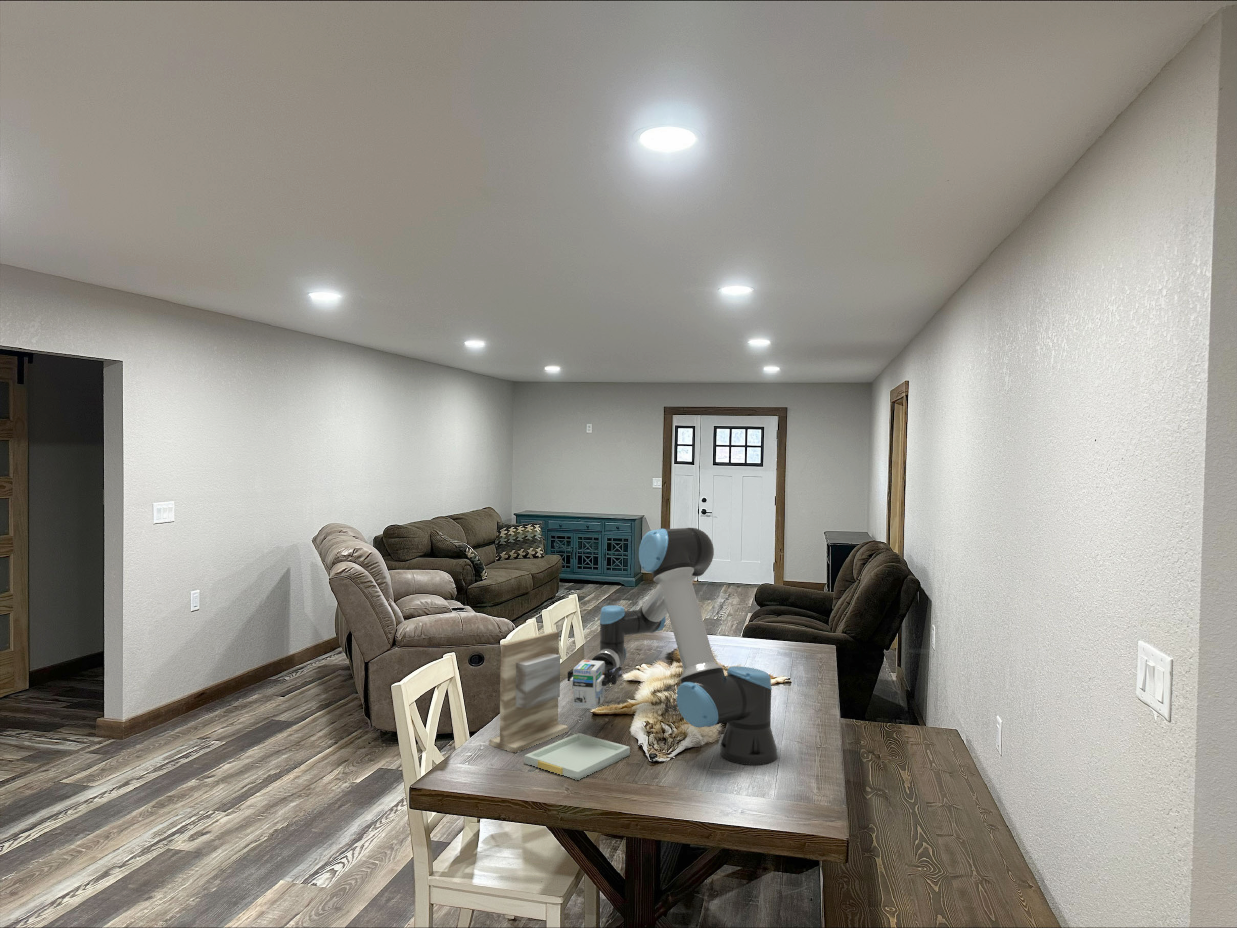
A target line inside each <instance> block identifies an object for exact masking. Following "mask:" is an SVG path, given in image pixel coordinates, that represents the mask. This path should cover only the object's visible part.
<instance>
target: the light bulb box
mask: <svg viewBox="0 0 1237 928" xmlns="http://www.w3.org/2000/svg"><path fill="white" fill-rule="evenodd" d="M572 669H573V690H572V708H580V709H589V710H590V709H591V710H596V709H597V708H598V707H599V706H600V705H601V703H602V702H603V701H604V700H605V692H606V691H605V687H606V686H603V687H602V689H601V690H600V691H599V692H598V691H596V681H597V680H598V679H599V678H600V677H601V676H602V675H604V673H605V662H604V661H593V660H592V659H591V660H590V659H582V660H581V661H580V662H579V663H578V665H577V664H576V666H574V667H573V668H572Z"/></svg>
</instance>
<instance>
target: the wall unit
mask: <svg viewBox="0 0 1237 928" xmlns="http://www.w3.org/2000/svg"><path fill="white" fill-rule="evenodd" d="M559 647H560V632H559V631H555V630H554V631H553V630H552V631H548V632H544V633H541V634H537V635H534V636H529V637H525V638H521V639H518V640H513V641H509V642H506V643H505V642H504V643H502V644H500V669H499V670H500V672H499V674H500V677H499V678H500V685H499V690H500V692H499V695H500V696H499V736H496V737H495V736H494V737H493V738H490V739H489V741H488V742H489V744H488V745H489V746H491V747H494V748H497V749H501V750H503V749H504V751H506V750H507V752H510V751H511V752H510V753H513V752H515V753H514V754H517V753H516V752H518V751H520V752H522V751H521V750H523V751H525V750H527V749H529V747H530V748H532V747H535V746H536V744H537V745H539V743H540V744H542V743H545V742H547V741H549V740H552V739H554V738H556V736H557V737H559V736H561V735H564V734H566V733H568V732H569V726H568V725H564V724H560V723H559V698H560V695H561V655H560V648H559ZM565 732H566V733H565ZM563 733H564V734H563ZM558 735H559V736H558ZM551 738H552V739H551ZM534 745H535V746H534ZM531 746H532V747H531ZM526 748H527V749H526ZM524 749H525V750H524ZM518 753H519V752H518Z"/></svg>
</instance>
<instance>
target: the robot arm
mask: <svg viewBox="0 0 1237 928" xmlns="http://www.w3.org/2000/svg"><path fill="white" fill-rule="evenodd" d="M714 554H715V548H714V543H713V542H712V539H711V538H710V537H709V535H708V534H707V533H706V532H704V531H703V530H701V529H699V528H696V527H681V528H680V527H679V528H658V529H653V530H649V531H648V532H646V533H645V534H644V535H643V537H642V539H641V541H640V544H639V548H638V560H639V565H640V566H641V568H642V570H644V571H645V572H647V573H649V574H651V575H652V578H653V582H654V583H656V584H658V585H657V586H656V587H655V589H654V590H653V591H652V593H651V594H650V595H649V597H648V598H647V599H646V600H645V602H644V603H643V605H642V606H641V607H640V608H639V609H634V610H625V607H623V606H621V605H614V604H613V605H604V606H602V607H601V609H600V614H599V624H600V625H599V630H600V632H599V633H600V636H599V637H600V639H599V652H598V653H597V654H596V655H594V656H593V658H591V660H593V661H604V662H605V673H604V675H602V676H601V677H600V678H599V679H598V680H597V681H596V691H598V692H599V691H600V690H601V689H602V687H603V686H605V687H607V686H608V685H610V684H611V685H614V686H615V685H616V684H617V683H618V681H619V679H620V678H621V677H622V674H623V673H622V672H623V671H622V665H623V664H624V662H625V660H626V658H627V649H626V647H625V636H633V635H641V634H649V633H651V634H652V633H653V634H654V633H655V632H660V631H662V630H663V629H664V628H665V625H666V615H667V614H668V618H669V621H670V625H671V630H672V631H673V636H674V639H675V644H676V646H677V650H678V655H679V658H680V661H681V665H682V668H683V672H682V673H681V676H680V677H679V680H680V683H681V684H680V685H679V686H678V688H677V690H676V694H677V695H676V696H675V697H676V704H677V708H678V710H679V713H680V714H681V716H682V718H683V719H684V720H685V721H686V722H687V723H688V724H689V725H690V726H692V727H695V728H706V727H707V728H711V727H714V726H716V725H717V726H718V725H721V724H726V727H725V729H724V733H723V736H722V738H721V741H720V745H719V746H720V750H719V753H720V756H721V757H722V758H723V759H725V760H728V761H730V762H732V763H737V764H741V765H750V766H752V765H753V766H754V765H766V764H769V763H773V762H775V761H776V760H777V758H778V747H777V744H776V741H775V737H774V735H773V731H772V727H771V726H772V725H771V720H772V719H771V718H772V717H771V716H772V713H771V712H772V681H771V679H772V678H771V676H770V674H769V673H768V672H766V671H764V670H762V669H758V668H755V667H754V668H753V667H749V666H748V667H747V666H738V665H736V666H730V667H728V668H727V671H726V674H727V675H725V672H724V668H723V666H721V665H719V664H718V663H717V662H716V660H715V657H714V655H713V651H712V647H711V645H710V640H709V637H708V633H707V630H706V626H705V622H704V618H703V616H702V612H701V609H700V606H699V603H698V602H699V601H698V599H697V595H696V592H695V591H696V590H695V588H694V585H693V582H694V581H695V579H696V578H697V577H701V576H702V575H704V574H705V573H706V571H707V570H708V568H709V567H710V566H711V564H712V562H713V558H714V556H715V555H714ZM578 664H579V663H578ZM578 664H576V666H577V665H578ZM567 682H569V690H572V691H573V668H572V669H570V670H569V671H567Z"/></svg>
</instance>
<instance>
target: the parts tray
mask: <svg viewBox="0 0 1237 928" xmlns="http://www.w3.org/2000/svg"><path fill="white" fill-rule="evenodd" d="M630 756H631V746H628V745H625V744H621V743H617V742H614V741H613V742H612V741H610V740H606V739H602V738H598V737H595V736H591V735H587V734H584V733H580V732H577V733H575V734H572V735H570V736H568V737H566V738H563V739H560V740H559V741H556V742H553V743H550V744H549V745H545V746H544V747H541V748H539V749H536V750H534V751H532V752H530V753H527V754H524V762H523V764H524V763H525V764H524V765H526V764H528V765H527V766H530V765H532V766H531V767H533V766H535V767H534V768H536V767H538V768H537V769H539V768H541V769H540V770H542V769H544V770H543V771H545V770H548V771H550V772H549V773H551V772H554V773H553V774H555V773H557V774H556V775H558V774H560V775H559V776H561V775H564V776H567V777H570V778H573V779H575V780H574V781H577V780H579V781H581V780H582V779H581V778H583V777H585V778H586V776H587V775H589V776H590V774H591V775H593V774H595V773H597V772H599V771H601V770H603V769H605V768H607V767H609V766H611V765H613V764H615V763H617V762H618V761H619V762H620V761H621V760H623V759H625V758H627V757H630ZM548 771H547V772H548ZM596 771H597V772H596ZM594 772H595V773H594ZM592 773H593V774H592ZM564 776H563V777H564ZM567 777H566V778H567ZM587 777H588V776H587ZM570 778H569V779H570ZM573 779H572V780H573ZM580 779H581V780H580ZM583 779H584V778H583Z"/></svg>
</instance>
